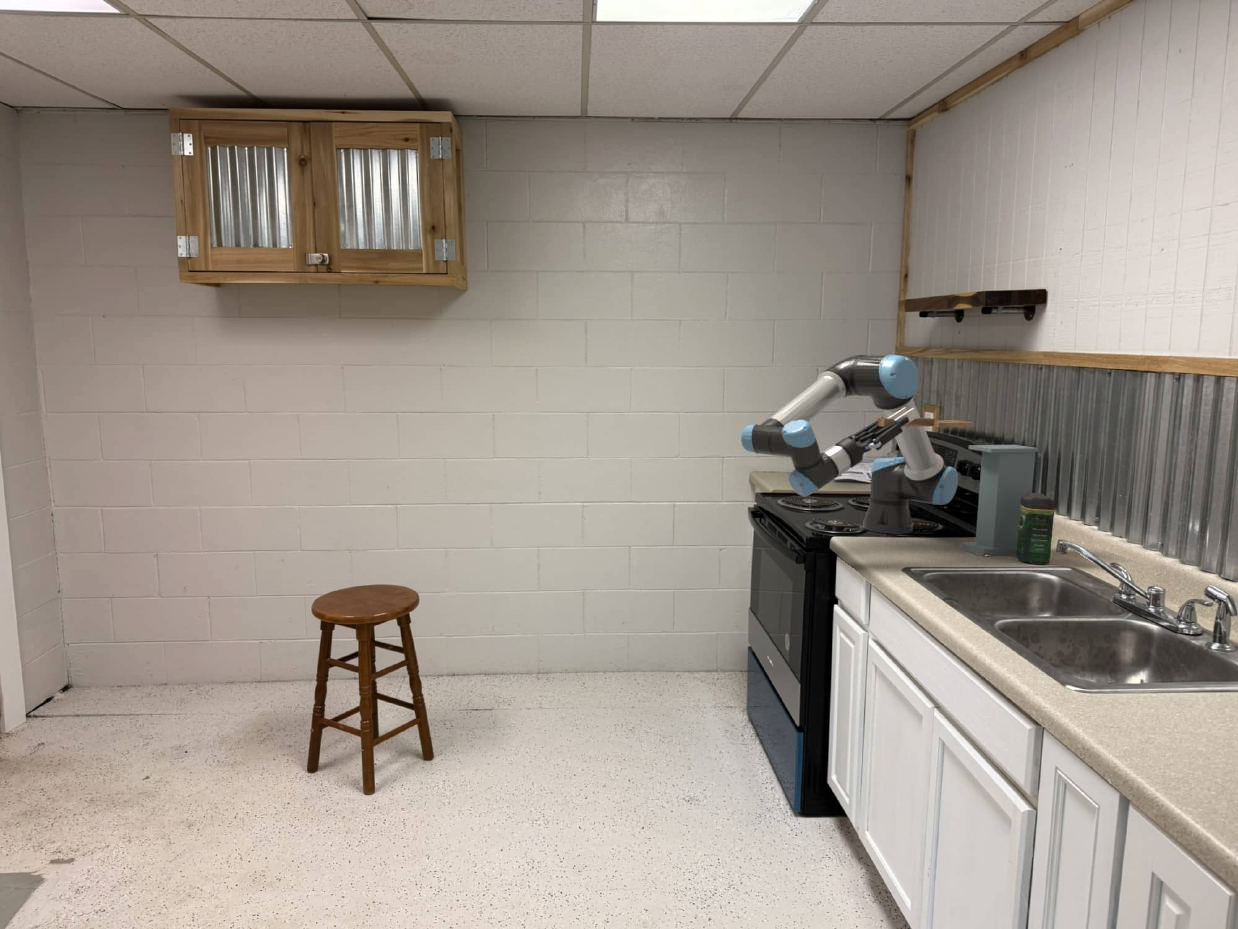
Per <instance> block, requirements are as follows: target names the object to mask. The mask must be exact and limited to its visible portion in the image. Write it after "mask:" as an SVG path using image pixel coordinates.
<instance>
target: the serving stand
mask: <svg viewBox="0 0 1238 929" xmlns="http://www.w3.org/2000/svg"><path fill="white" fill-rule="evenodd" d="M968 450H974V451H981V452H982V453H981V464H980V465H981V466H980V467H981V468H980V476H979V477H980V480H979V491H978V493H979V494H978V506H977V516H976V518H977V519H976V532H975V541H963V542H961V544H960V550H962V549H963V550H962V551H965V550H966V551H965V552H968V551H970V552H969V553H972V554H974V553H977V554H979V555H978V556H980V555H982V556H981V557H986V556H985V555H999V556H1012V555H1014V554H1015V555H1016V551H1017V542H1018V532H1019V522H1020V505H1021V498H1022V496H1023V495H1025V494H1027V493H1033V485H1034V474H1035V473H1034V472H1035V461H1036V452H1037V453H1038V452H1039V450H1040V448H1039V447H1032V446H1026V445H1019V444H986V445H985V444H974V445H968ZM977 554H976V555H977Z"/></svg>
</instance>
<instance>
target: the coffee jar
mask: <svg viewBox="0 0 1238 929" xmlns="http://www.w3.org/2000/svg"><path fill="white" fill-rule="evenodd" d="M1055 504H1056V500H1054V499H1053V498H1051V497H1049V496H1046V495H1045V494H1043V493H1042V492H1041V493H1039V492H1038V493H1037V492H1032V493H1027V494H1025V495H1023V496H1022V498H1021V505H1020V522H1019V532H1018V542H1017V551H1016V554H1015V556H1016V558H1017V559H1018V560H1019V561H1021V562H1023V563H1029V564H1032V565H1041V564H1042V565H1043V564H1045V565H1046V564H1049V563H1050V561H1051V552H1052V541H1053V540H1052V539H1053V530H1054V528H1053V527H1054V519H1055V517H1054V516H1055V507H1056V505H1055Z"/></svg>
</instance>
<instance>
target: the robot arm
mask: <svg viewBox="0 0 1238 929" xmlns="http://www.w3.org/2000/svg"><path fill="white" fill-rule="evenodd" d="M919 383H920V380H919V371H918V367H917V365H916V364H915V362H914V361H913V360H912V359H911V358H910V357H907V356H905V355H899V354H898V355H896V354H889V355H888V354H887V355H885V354H884V355H883V354H882V355H881V354H856V355H852V356H848V357H845V358H843V359H842V360H839V361H838V362H836V363H834V364H832V365H830V366H829V367H827V368H826V369H825V370H823V371H822V372H821V373H820V374H818V376H817V379H816V381H815V382H813V383H812V384H811V385H810V386H808V387H807V388H806V389H804V390H803V391H802V392H801V393H799V394H798V395H797V396H796V397H794V398H793V399H792V400H791V401H789V402H788V403H786V404H785V405H784V406H783V407H782V408H780V409H779V410H778V411H776V412H775V413H774V414H773V415H771V416H770V417H769V418H767V419H766V420H765V421H764V422H762V423H761V424H757V423H755V424H749V425H746V426H745V427H744V428H743V430H742V432H741V435H740V436H741V437H740V441H741V445H742V447H743V449H744V450H745V451H747V452H749V453H754V454H757V455H759V454H761V455H770V456H776V457H777V456H778V457H785V458H790V459H791V462H792V464H793V467H794V469H793V470H792V471H791V472H790V473H789V474H788V482H789V484H790V487H791V488H792V489H793V490H794V492H795V493H796V494H797V495H799V496H801V497H805V498H806V497H808V496H811V494H813V493H815V492H817V491H819V490H821V489H822V488H823V487H824V486H826V485H827V484H829V483H830V482H831V481H832V482H833V480H834V479H837V478H838V477H839V478H841V477H842V474H845V473H846V472H847V471H849V470H850V469H853V468H854V467H856V466H857V465H858V464H860V463H861V462H862V461H863V457H864V454H865V453H868V452H870V451H871V450H872V449H875V450H876V451H880V450H881V449H882V448H883V447H884V446H886V445H887V444H888V443H889V442H891V441H892V440H894V438H895V441H896V443H897V445H898V447H899V451H900V453H901V456H897V457H895V456H894V457H880V458H875V460H873V462H872V465H871V466H872V467H871V472H870V473H871V478H870V479H871V480H870V481H871V482H870V499H869V506H868V509H867V510H866V513H865V515H864V519H863V522H862V528H863V529H864V530H865V531H866V530H867V531H870V532H874V533H875V532H876V533H881V534H892V535H895V534H896V535H899V534H902V535H903V534H904V535H905V534H910V533H912V532H913V529H914V528H913V527H914V523H913V520H912V516H911V511H910V508H909V503H910V502H909V501H914V502H919V503H924V504H931V505H933V506H935V505H939V506H943V505H947V504H949V503H950V502H951V501H952V500H953V498H954V496H955V494H956V493H957V492H956V491H957V489H958V482H959V474H958V471H957V469H956V468H955V467H952V466H947V465H946V464H945V461H944V458H943V457H942V456H941V455H939V454H937V453H935V451H934V448H933V446H932V444H931V441H930V438H929V436H928V434H927V431H926V429H925V426H905V425H906V424H908V423H910V422H911V421H913V420H914V419H916V418H921V417H920V416H921V415H920V413H919V411H918V408H917V406H916V404H915V401H914V398H915V396H916V392H917V390H918V387H919ZM852 396H861V397H870V398H871V399H872V401H873V404H874V406H875V407H876V408H877V409H878V410H880V411H883V413H884V415H885V417H881V418H896V419H895V420H894V422H893V423H891V424H889V425H888V426H886V427H883V426H877V424H878V419H877V420H875V421H874V422H872V423H871V424H869V425H867V426H865V427H863V428H862V429H860V430H858V431H857V432H855V433H853V434H851V435H849V436H847V437H845V438H843V439H841V440H840V441H838V442H837V443H835V444H834V445H831V446H830V447H829V448H827V449H825V450H823V451H821V450H820V446H819V443H818V441H817V437H816V433H815V432H814V430H813V428H812V425H811V424H810V421H812V420H813V419H814V418H816V416H818V415H819V414H821V412H823V411H824V410H825V409H826V408H828V407H829V406H830V405H832V404H833V403H839V402H841V401H842V400H844V399H845V398H847V397H852Z"/></svg>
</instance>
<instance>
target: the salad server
mask: <svg viewBox="0 0 1238 929" xmlns="http://www.w3.org/2000/svg"><path fill="white" fill-rule="evenodd" d="M895 419H896V418H886V417H884V418H882V417H880V418H877V420H878V424H877V426H883V427H886V426H888V425H889V424H891V423H893V422H894V420H895ZM905 426H924V427H936V428H973V427H974V422H972V421H966V420H965V421H963V420H955V419H954V420H953V419H952V420H951V419H949V420H947V419H945V420H944V419H943V420H940V419H938V420H937V419H936V418H930V417H920V418H916V419H914V420H913V421H911V422H910V423H908V424H906V425H905Z"/></svg>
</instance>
